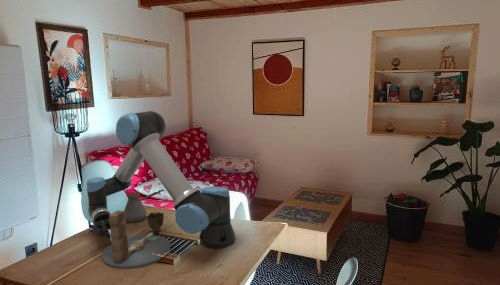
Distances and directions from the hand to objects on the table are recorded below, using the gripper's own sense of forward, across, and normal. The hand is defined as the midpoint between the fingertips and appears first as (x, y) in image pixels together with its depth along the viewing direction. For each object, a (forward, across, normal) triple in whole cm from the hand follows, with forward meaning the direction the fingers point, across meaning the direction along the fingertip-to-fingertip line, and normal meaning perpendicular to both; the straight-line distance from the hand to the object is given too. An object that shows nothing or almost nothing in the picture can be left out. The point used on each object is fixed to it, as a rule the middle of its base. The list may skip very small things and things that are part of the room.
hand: (114, 238), depth 132 cm
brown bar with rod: (-5, -9, -8) cm, 13 cm away
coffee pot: (-39, -22, -10) cm, 46 cm away
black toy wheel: (-21, -22, -10) cm, 32 cm away
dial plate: (-5, -9, -10) cm, 14 cm away
